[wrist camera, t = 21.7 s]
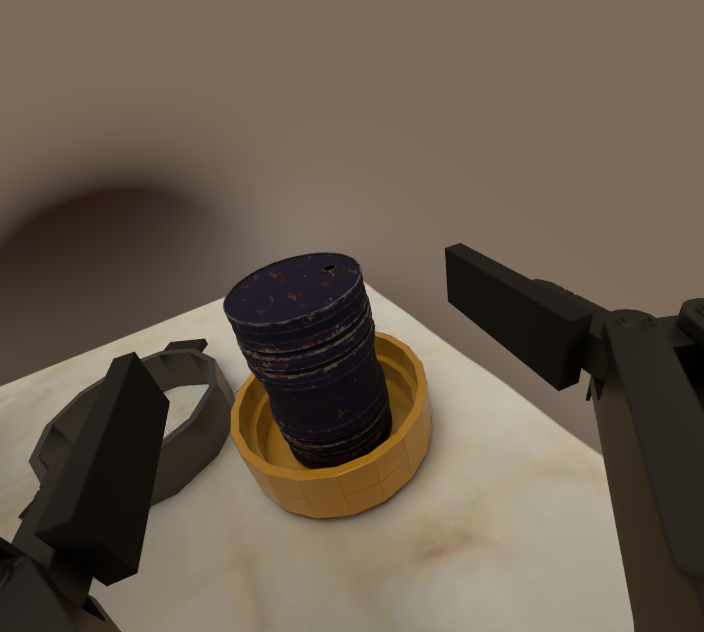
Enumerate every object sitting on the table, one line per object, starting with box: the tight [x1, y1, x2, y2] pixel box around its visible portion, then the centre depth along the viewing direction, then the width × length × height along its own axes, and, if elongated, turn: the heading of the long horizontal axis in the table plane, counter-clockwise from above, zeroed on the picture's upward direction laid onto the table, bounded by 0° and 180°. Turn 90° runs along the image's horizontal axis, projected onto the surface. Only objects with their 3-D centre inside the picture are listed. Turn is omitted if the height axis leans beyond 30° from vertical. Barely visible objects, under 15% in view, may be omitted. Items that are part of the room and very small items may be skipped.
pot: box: [18, 339, 234, 521], centre depth 35 cm, size 21×16×5 cm
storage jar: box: [223, 252, 392, 470], centre depth 28 cm, size 10×10×15 cm
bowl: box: [231, 331, 432, 518], centre depth 31 cm, size 16×16×6 cm
